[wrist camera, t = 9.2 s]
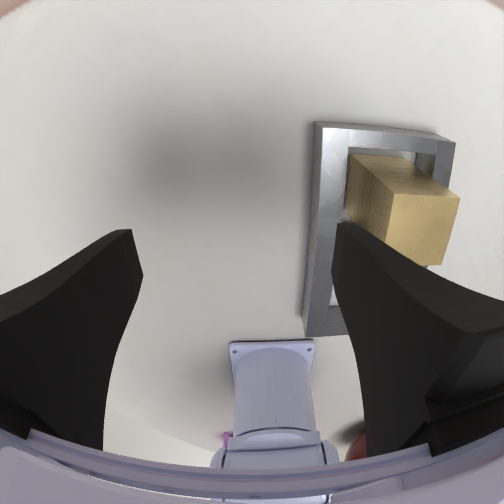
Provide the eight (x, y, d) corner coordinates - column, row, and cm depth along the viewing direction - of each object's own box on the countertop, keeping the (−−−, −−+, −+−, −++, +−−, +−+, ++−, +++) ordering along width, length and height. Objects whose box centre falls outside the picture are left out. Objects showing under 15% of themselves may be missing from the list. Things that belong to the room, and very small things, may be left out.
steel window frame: (395, 309, 25) (404, 328, 23) (301, 316, 26) (305, 337, 24) (436, 134, 17) (455, 142, 15) (314, 121, 17) (322, 127, 15)
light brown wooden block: (395, 210, 20) (440, 264, 14) (345, 209, 20) (379, 267, 14) (403, 157, 18) (460, 198, 12) (350, 153, 18) (394, 193, 12)
